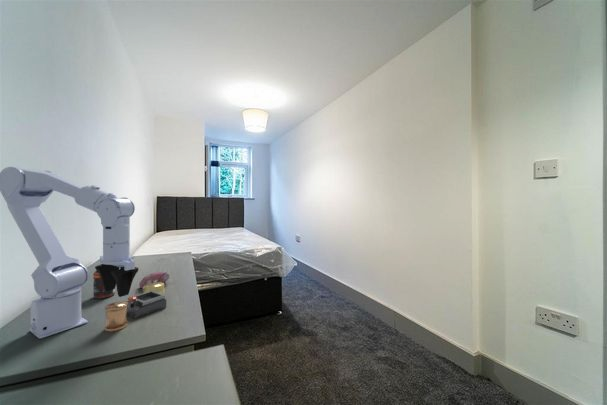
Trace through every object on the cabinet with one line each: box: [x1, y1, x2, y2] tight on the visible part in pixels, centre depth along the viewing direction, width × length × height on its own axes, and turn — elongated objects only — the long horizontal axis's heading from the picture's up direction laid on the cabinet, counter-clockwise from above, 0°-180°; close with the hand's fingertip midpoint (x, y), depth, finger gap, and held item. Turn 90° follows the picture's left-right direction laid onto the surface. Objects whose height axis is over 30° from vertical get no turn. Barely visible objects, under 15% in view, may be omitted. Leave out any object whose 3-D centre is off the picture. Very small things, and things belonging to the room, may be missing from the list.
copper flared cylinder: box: [104, 300, 129, 333], centre depth 66 cm, size 5×5×6 cm
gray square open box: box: [126, 291, 167, 320], centre depth 77 cm, size 9×9×5 cm
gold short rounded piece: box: [142, 281, 165, 295], centre depth 87 cm, size 6×6×4 cm
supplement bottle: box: [92, 263, 116, 300], centre depth 87 cm, size 6×6×11 cm
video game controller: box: [138, 270, 170, 289], centre depth 98 cm, size 10×5×7 cm, turn 143°
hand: (116, 292), depth 66 cm, fingers open, 7 cm apart
